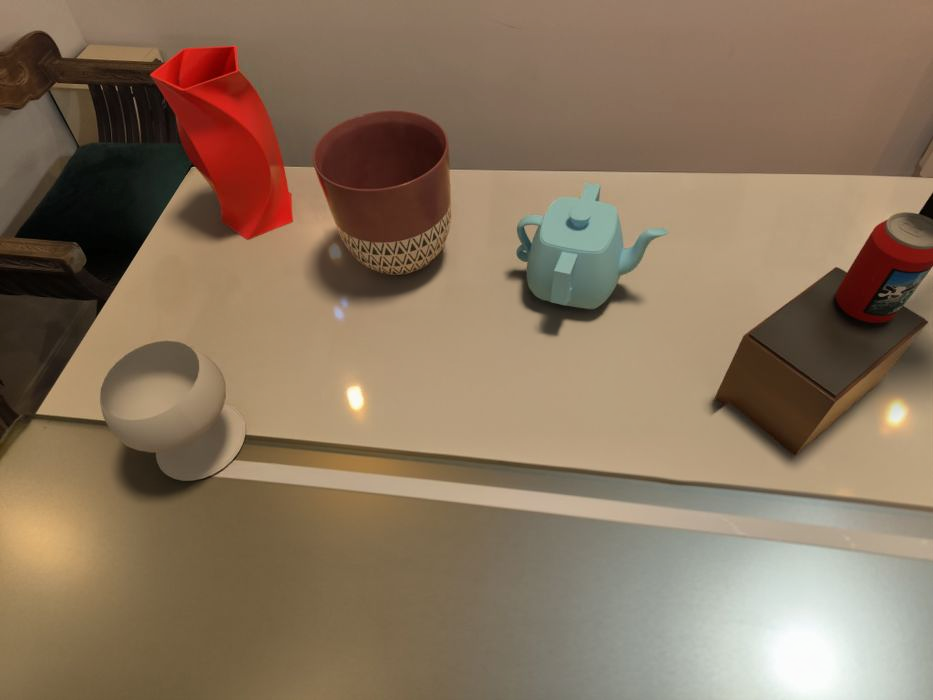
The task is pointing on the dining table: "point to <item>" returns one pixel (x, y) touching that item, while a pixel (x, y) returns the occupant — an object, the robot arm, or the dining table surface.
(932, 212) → the robot arm
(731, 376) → the riser
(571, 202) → the teapot
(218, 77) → the vase
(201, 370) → the chalice
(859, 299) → the beverage can
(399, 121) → the planter
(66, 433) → the dining table surface
